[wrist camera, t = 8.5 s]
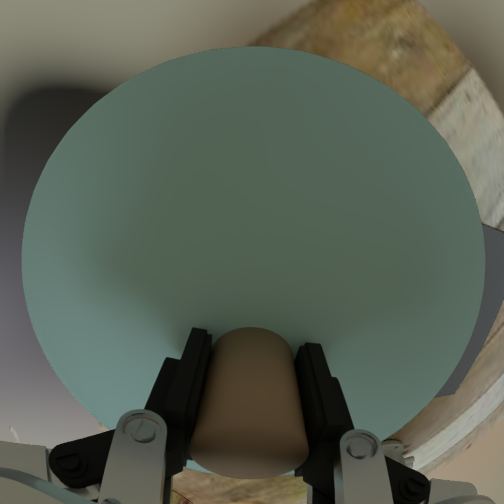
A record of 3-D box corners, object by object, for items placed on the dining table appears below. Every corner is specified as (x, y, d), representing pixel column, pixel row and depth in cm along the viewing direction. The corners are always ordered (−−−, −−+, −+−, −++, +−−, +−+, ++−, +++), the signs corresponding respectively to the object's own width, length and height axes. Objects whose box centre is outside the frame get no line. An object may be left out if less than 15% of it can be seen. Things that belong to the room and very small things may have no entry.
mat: (519, 240, 22) (521, 241, 22) (453, 392, 29) (454, 393, 29) (377, 189, 21) (379, 190, 21) (309, 404, 29) (310, 406, 28)
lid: (507, 151, 8) (587, 163, 3) (373, 460, 14) (389, 513, 9) (45, 70, 7) (-39, 49, 2) (80, 424, 14) (53, 476, 9)
